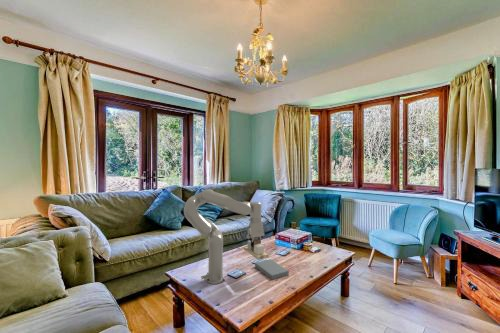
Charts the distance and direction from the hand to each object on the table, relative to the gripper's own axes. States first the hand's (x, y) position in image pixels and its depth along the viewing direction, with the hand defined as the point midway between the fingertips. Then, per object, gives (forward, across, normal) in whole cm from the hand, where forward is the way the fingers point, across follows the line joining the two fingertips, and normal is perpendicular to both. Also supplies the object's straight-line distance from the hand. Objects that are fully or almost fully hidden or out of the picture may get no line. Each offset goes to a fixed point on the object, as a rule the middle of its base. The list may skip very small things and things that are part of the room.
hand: (255, 245), depth 159 cm
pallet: (+5, 0, 0) cm, 5 cm away
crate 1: (+3, 0, +5) cm, 6 cm away
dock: (+22, +13, 0) cm, 25 cm away
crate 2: (+3, 0, -4) cm, 5 cm away
